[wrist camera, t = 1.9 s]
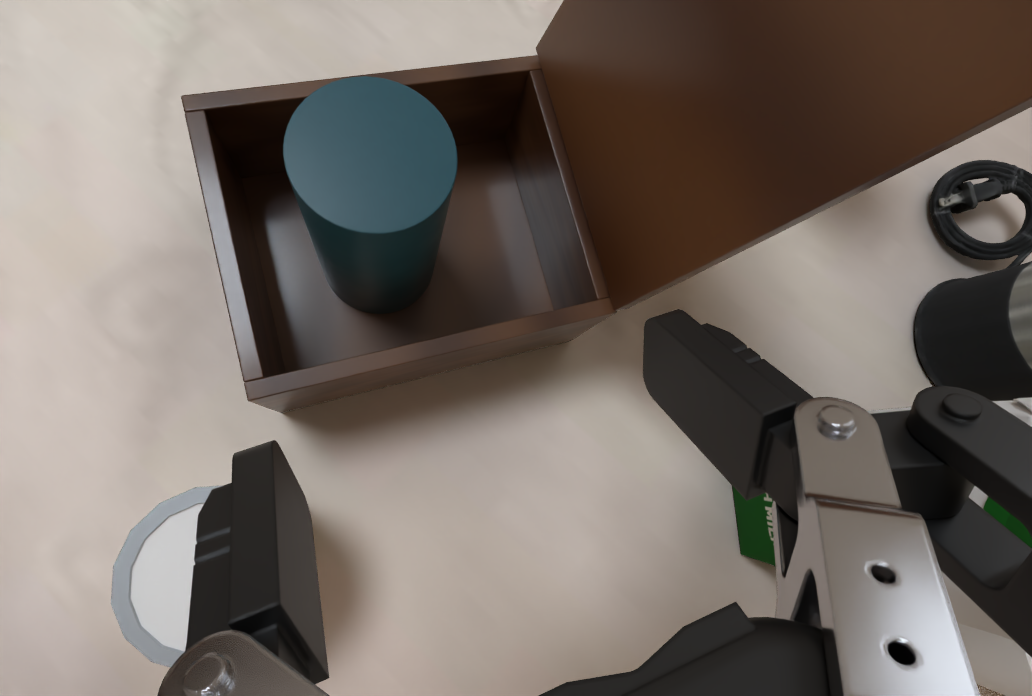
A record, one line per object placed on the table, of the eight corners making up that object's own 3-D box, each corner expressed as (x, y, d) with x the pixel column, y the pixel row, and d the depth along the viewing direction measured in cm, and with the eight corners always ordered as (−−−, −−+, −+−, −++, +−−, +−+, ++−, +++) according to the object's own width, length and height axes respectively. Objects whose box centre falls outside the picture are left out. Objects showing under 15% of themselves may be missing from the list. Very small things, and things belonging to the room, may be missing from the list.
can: (336, 324, 31) (304, 248, 19) (311, 220, 31) (265, 86, 20) (445, 301, 32) (476, 217, 21) (419, 201, 33) (434, 67, 21)
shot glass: (335, 486, 30) (320, 496, 23) (307, 626, 29) (283, 680, 22) (195, 468, 29) (137, 473, 22) (159, 613, 27) (84, 666, 21)
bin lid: (1109, 58, 11) (1129, 58, 11) (865, -515, 12) (888, -499, 13) (614, 311, 27) (628, 308, 27) (535, 48, 28) (549, 48, 29)
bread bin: (280, 413, 30) (247, 401, 23) (226, 173, 32) (180, 94, 25) (570, 340, 34) (617, 312, 27) (510, 132, 36) (539, 54, 29)
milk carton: (709, 422, 35) (1095, 388, 16) (835, 414, 37) (1313, 375, 18) (728, 572, 34) (1175, 734, 15) (858, 555, 36) (1402, 677, 17)
